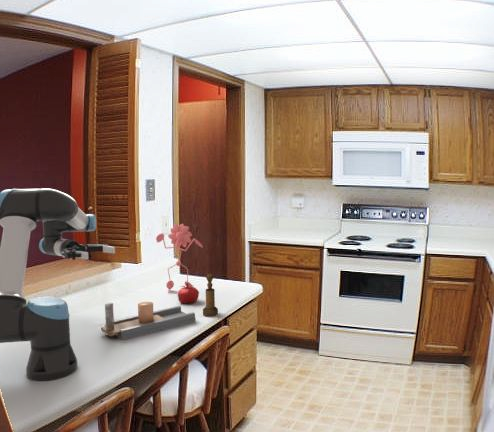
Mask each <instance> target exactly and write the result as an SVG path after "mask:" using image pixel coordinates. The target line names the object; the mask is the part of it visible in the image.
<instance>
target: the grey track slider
mask: <svg viewBox="0 0 494 432" xmlns="http://www.w3.org/2000/svg"><path fill="white" fill-rule="evenodd" d="M104 315H105V317H104V318H105V326H104V325H103V326H101V327H100V330H101V332H103V333H104V334H106V335H107V336H109V337H113V336H116V335H117V334H120V330H121V329H125V328H129V327H134V326H138V325H142V324H146V323H139V321H138V319H135V320H130V321H126V322H122V323H117V324H114V320H115V318H114V303H113V302H107V303H104ZM163 319H164V318H162V317H161V316H159V315H157V314H156V315H154V321H153V322H155V321H159V320H163Z"/></svg>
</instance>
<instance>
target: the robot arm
mask: <svg viewBox="0 0 494 432" xmlns="http://www.w3.org/2000/svg"><path fill="white" fill-rule="evenodd" d="M78 205H79V204H78V203H77V201H76V200H75V199H74V198H73V197H72V196H70V195H69V194H67V193H65V192H63V191H60V190H57V189H53V188H43V187H42V188H12V189H10V188H9V189H4V190H2V191H0V226H1V227H2V228H3V229H2V233H1V234H2V235H1V241H0V344H5V343H17V342H30V354H29V357H28V360H27V364H26V366H25V371H26V377H27V378H28V379H30V380H33V381H42V382H43V381H51V380H56V379H61V378H64V377H66V376H69V375H70V374H72V373H74V372H75V371H76V370H77V369H78V358H77V356H76V354H75V351H74V349H73V347H72V344H71V332H70V330H71V329H70V328H71V327H70V313H69V305H68V302H66V301H65V300H64V299H62V298H60V297H55V296H40V297H34V298H33V297H32V298H31V299H29V300H28V302H27V299H26V298H25V297H24V296H23V291H24V285H25V284H24V283H25V279H26V276H25V275H26V270H27V269H26V268H27V262H28V255H29V246H30V239H31V233H32V231H33V230H35V229H36V228H37V223H38V222H42V230H43V238H42V239H40V240H39V244H38V248H39V250H40V252H42V254H46V255H50V256H59V257H62V259H64V258H66V259H72V260H73V261H75V260H76V259H81V260H89V253H92V252H93V253H94V252H95V253H97V252H102V253H106V254H107V253H108V254H116V247H115V246H110V245H109V244H106V243H103V244H92V243H91V244H89V243H87V244H82V243H81V244H80V243H79V242H78V241H77V240H73V239H66V238H63V233H75V232H76V233H77V232H87V233H88V232H94V231H96V229H97V217H96V215H95V214H92V213H91V214H90V213H87V214H86V213H85V212H84V211H83V210H82V209H81V208H80V207H79V206H78Z"/></svg>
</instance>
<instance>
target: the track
mask: <svg viewBox="0 0 494 432" xmlns="http://www.w3.org/2000/svg"><path fill="white" fill-rule="evenodd" d="M156 314H157V315H159V316H161V317H162V318H164V319H163V320H159V321H155V322H150V323H146V324H142V325H138V326H134V327H129V328H125V329H121V330H120V334H117V335H115V336H117V338H119V339H121V341H124V340H129V339H133V338H137V337H141V336H145V335H148V334H153V333H156V332H161V331H164V330H168V329H173V328H176V327H180V326H184V325H189V324H192V323H196V313H195V312H189V313H186V312H184V311H182V306H181V305H177V306H172V307H167V308H163V309H159V310H153V315H156ZM135 319H138V314H136V315H132V316H128V317H127V316H126V317H124V318H120V319H114V324H117V323H122V322H126V321H130V320H135Z"/></svg>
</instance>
